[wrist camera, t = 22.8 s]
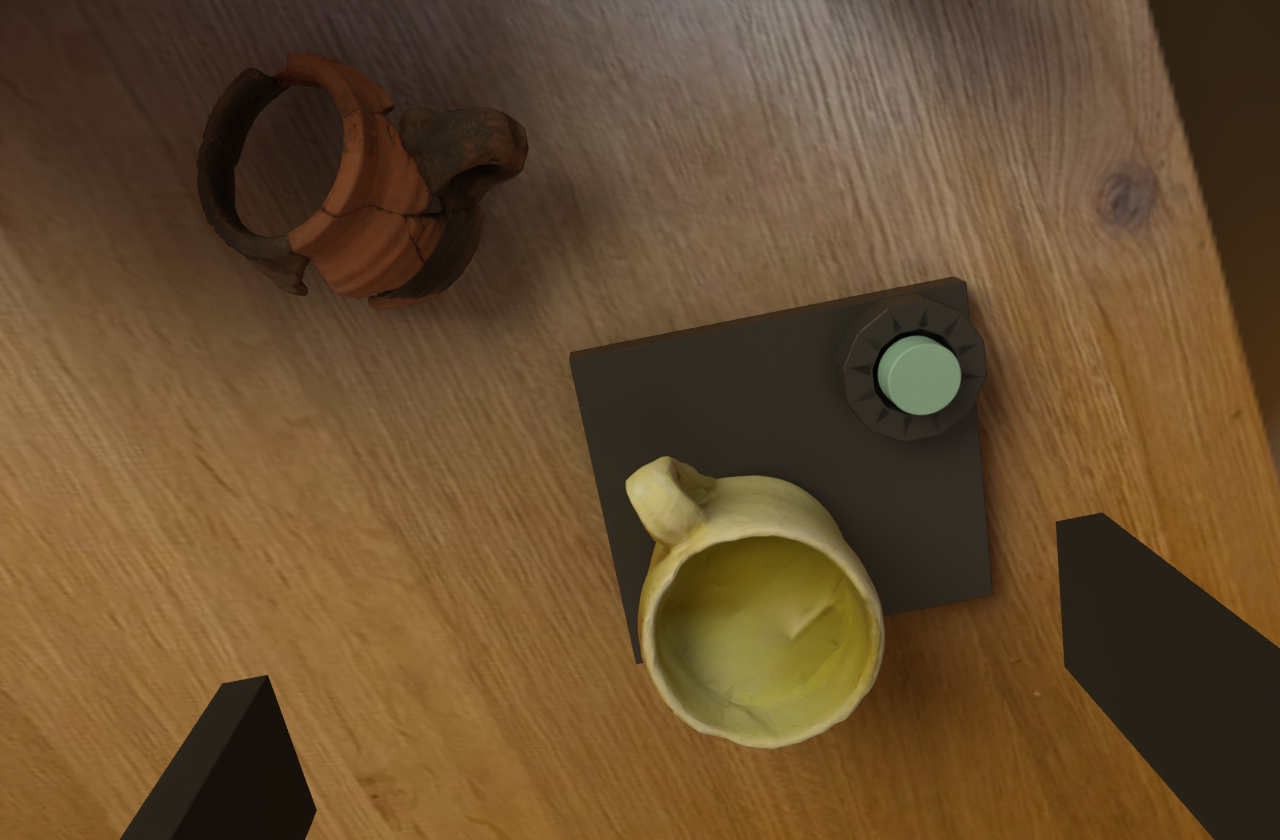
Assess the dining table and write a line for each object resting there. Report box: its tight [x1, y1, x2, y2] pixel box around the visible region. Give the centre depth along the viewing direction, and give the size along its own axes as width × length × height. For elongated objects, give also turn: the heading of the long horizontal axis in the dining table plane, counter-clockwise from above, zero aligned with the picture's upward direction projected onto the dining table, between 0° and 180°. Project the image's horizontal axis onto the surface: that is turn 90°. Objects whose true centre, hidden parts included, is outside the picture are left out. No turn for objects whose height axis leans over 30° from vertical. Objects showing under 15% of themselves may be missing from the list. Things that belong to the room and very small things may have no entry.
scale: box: [569, 277, 993, 664], centre depth 42 cm, size 17×15×3 cm
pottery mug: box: [197, 53, 529, 309], centre depth 36 cm, size 12×10×8 cm
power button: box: [878, 336, 961, 415], centre depth 39 cm, size 3×3×2 cm
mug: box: [625, 456, 885, 749], centre depth 39 cm, size 12×10×10 cm
